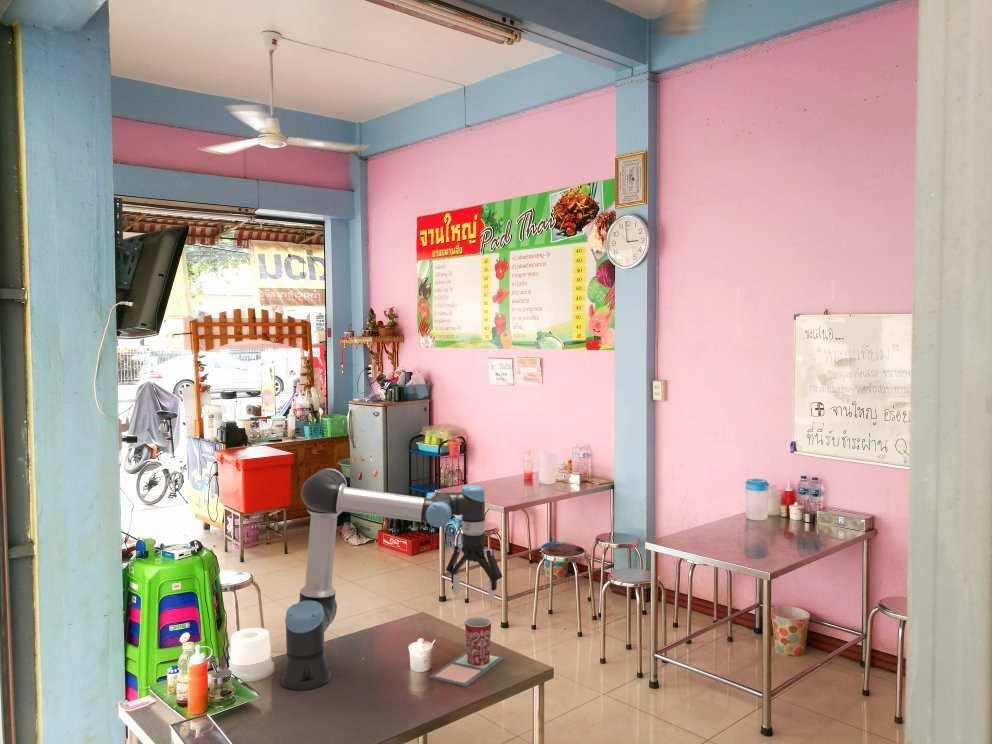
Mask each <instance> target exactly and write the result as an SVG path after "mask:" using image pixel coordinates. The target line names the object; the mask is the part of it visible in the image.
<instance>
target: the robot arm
mask: <svg viewBox="0 0 992 744" xmlns="http://www.w3.org/2000/svg"><path fill="white" fill-rule="evenodd" d="M300 493H301V499H302V502H303V503H304V505H305V506H306V511H307V513H308V514H309V515H310V524H309V536H308V545H307V548H308V549H307V557H306V558H307V561H306V570H305V573H306V574H305V585H304V586H302V588H300V590H299V600H298V601H299V602H296V603H293V604H292V605H291V606H289V607H288V608H287V610H286V612H285V619H284V620H285V622H284V623H285V638H286V640H285V643H286V645H285V646H286V647H285V648H286V658H285V662H284V666H283V670H282V672H281V676H280V677H281V678H280V679H281V685H282V686H283V687H284V688H285V689H289V690H295V691H305V690H311V689H315V688H319V687H321V686H324V685H325V684H327V683H328V682H329V681H330V680H331V678H332V677H331V668H330V666H329V663H328V660H327V657H326V654H325V632H327V629H328V628H329V626H330V625H331V624H332V623H333V621H334V620H335V618H336V615H337V610H338V603H337V600H336V592H337V591H336V589H335V588H334V587H333V586H332V583H333V573H334V572H333V571H334V570H333V569H334V558H335V548H336V546H335V545H336V534H337V524H338V516H339V515H340V514H342V513H343V512H346V513H353V514H354V513H355V514H360V515H369V516H375V517H382V518H389V519H399V520H403V521H404V520H406V521H411V522H412V521H413V522H420V523H424V524H429V525H430V526H432V527H434V528H441V527H444V526H446V525H447V524H448V523H449V522H450V520H451V517H452V516H461V517H462V518H461V524H462V526H461V527H462V528H461V530H462V531H461V532H462V534H461V540H462V541H461V544H460V543H459V544H456V545H455V546H454V548H453V552H452V555H451V558H450V559H449V562H448V564H447V566H446V568H445V570H446V572H448V573H450V575H451V577H450V578H451V584H453V585H452V587H453V593H452V594H453V595H457V594H459V593H460V591H461V588H460V587H461V586H460V585H461V584H460V580H461V579H460V572H459V570H460V569H461V568H462V567H463V566H464V565H465V563H466V562H467V561H468V562H474V563H478V564H479V565H480V566H481V567H482V569H483V570H484V572H485V573H486V575H487V576H488V578H489V580H488V601H489V602H492V601H493V600H495V598H496V597H495V595H496V593H495V592H496V590H497V589H498V588H497V587H498V585H497V583H498V580H500V579H502V578H503V575H502V572H501V570H500V568H499V565H498V562H497V560H496V558H495V555H494V554H495V552H494V549H492V548H490V549H486V548H485V544H486V534H485V531H486V521H485V520H486V519H485V518H486V517H485V516H486V514H485V513H486V512H485V511H486V509H485V507H486V500H485V499H486V498H485V497H486V496H485V489H484V487H483V486H481V485H476V484H475V485H473V484H471V485H464V486H463V487H462V489H461V491H459V492H449V491H448V492H447V491H446V492H445V491H443V492H441V491H440V492H439V491H433V492H427V493H426V495H425V497H421V496H413V495H408V494H407V495H405V494H399V493H391V492H387V491H386V492H385V491H378V490H369V489H365V488H364V489H362V488H356V487H348V483H347V480H346V477H345V476H344V474H343V473H341V472H340V471H339V470H337V469H334V468H323V469H320V470H318V471H317V472H316V473H314V474H313V475H312V476H310V477H308V478H307V479H306V480H305V481H304V483H303V485H302V488H301V492H300ZM461 552H462V553H463V555H462V556H461V558H460V559H459V561H458V558H459V556H460V553H461ZM457 561H458V562H457Z"/></svg>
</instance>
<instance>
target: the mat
mask: <svg viewBox="0 0 992 744" xmlns="http://www.w3.org/2000/svg"><path fill="white" fill-rule="evenodd" d="M504 660H505V657H503V656H499V655H495V654H490V656H489V663H487V664H485V665H481V666H475V665H471V664H469V663H468V661H467V650H466V651H465V652H463V653H462V654H460V655H459V656H457V657H456V658H454V659H453V660H451V661H450V662H448V663H447V664H446V665H444V666H442V667H441V668H440V669H438V670H437V671H435V672H434V673H432V674H431V675H430V676H428V679H430V680H434V681H437V682H441V683H446V684H450V685H454V686H459V687H461V688H462V687H463V688H466V689H467V688H468V687H470V686H471V685H472V684H474V683H475V682H476V681H478V680H479V679H480V678H482V677H483V676H484V675H486V674H487V673H488V672H490V671H491V670H493V669H494V668H495V667H496V666H497V665H499V664H500V663H501V662H503V661H504Z"/></svg>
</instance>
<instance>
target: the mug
mask: <svg viewBox="0 0 992 744" xmlns="http://www.w3.org/2000/svg"><path fill="white" fill-rule="evenodd" d="M492 622H493V621H492V619H490V618H489V617H486V616H473V617H472V616H471V617H468V618H466V619H465V620H464V629H465V642H466V643H465V644H466V651H467V661H468V663H469V664H471V665H475V666H481V665H485V664H487V663H489V656H490V655H491V654H490V653H491V650H490V649H491V635H492V630H491V629H492Z"/></svg>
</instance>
